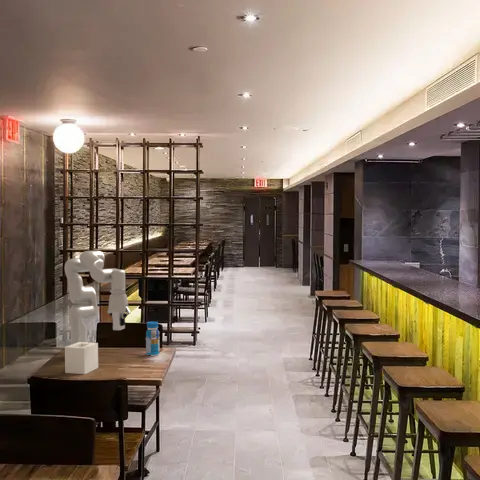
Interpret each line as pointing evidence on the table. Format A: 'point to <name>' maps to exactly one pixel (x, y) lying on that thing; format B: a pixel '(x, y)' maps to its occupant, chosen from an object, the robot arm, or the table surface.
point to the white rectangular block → (117, 321)
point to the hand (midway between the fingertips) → (118, 324)
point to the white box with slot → (81, 357)
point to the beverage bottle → (152, 339)
